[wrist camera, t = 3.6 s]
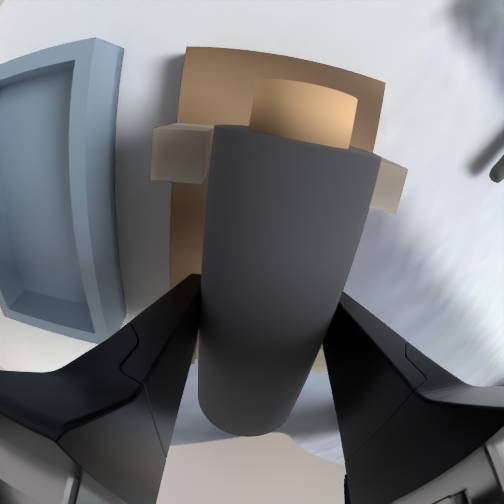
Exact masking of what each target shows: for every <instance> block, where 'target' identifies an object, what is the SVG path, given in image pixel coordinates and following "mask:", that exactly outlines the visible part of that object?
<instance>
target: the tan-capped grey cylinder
mask: <svg viewBox="0 0 504 504" xmlns="http://www.w3.org/2000/svg"><path fill="white" fill-rule="evenodd" d="M357 101H358V99H357V98H355V97H353V96H351V95H349V94H346V93H344V92H341V91H338V90H334V89H331V88H327V87H323V86H319V85H314V84H309V83H304V82H298V81H291V80H281V79H258V80H256V82H255V89H254V95H253V102H252V109H251V116H250V123H249V126H245V125H214V130H213V138H212V147H211V157H210V166H209V176H208V187H207V198H206V210H205V223H204V237H203V252H202V269H201V291H200V316H199V351H198V399H199V404H200V407H201V409H202V412H203V413H204V415H205V416H206V417H207V419H208V420H209V421H210V422H211V423H213V424H214V425H215V426H216V427H218V428H219V429H221V430H223V431H225V432H228V433H231V434H234V435H238V436H246V437H247V436H260V435H264V434H267V433H269V432H272V431H274V430H275V429H277V428H278V427H280V426H281V425H282V424H283V423H284V422H285V421H286V419H287V418H288V417H289V415H290V413H291V411H292V409H293V407H294V405H295V403H296V400H297V398H298V396H299V394H300V392H301V390H302V388H303V386H304V384H305V382H306V379H307V377H308V375H309V373H310V371H311V368H312V366H313V364H314V362H315V359H316V357H317V355H318V352H319V350H320V348H321V345H322V343H323V340H324V338H325V336H326V333H327V331H328V328H329V326H330V323H331V321H332V318H333V316H334V313H335V310H336V308H337V305H338V302H339V300H340V297H341V294H342V292H343V289H344V286H345V283H346V280H347V277H348V275H349V272H350V269H351V266H352V263H353V260H354V257H355V254H356V250H357V247H358V244H359V241H360V238H361V234H362V231H363V228H364V224H365V221H366V218H367V214H368V210H369V207H370V203H371V200H372V196H373V192H374V188H375V184H376V180H377V176H378V172H379V168H380V164H381V159H382V158H381V157H380V156H378V155H376V154H374V153H371V152H368V151H366V150H363V149H360V148H357V147H354V146H350V145H349V144H350V139H351V134H352V129H353V124H354V118H355V113H356V107H357Z"/></svg>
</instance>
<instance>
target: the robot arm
mask: <svg viewBox="0 0 504 504" xmlns="http://www.w3.org/2000/svg"><path fill="white" fill-rule="evenodd" d="M200 291H201V274H196V273H191V274H190V275H188V276H187V277H186V278H185V279H183V280H182V281H181V282H179V283H178V284H177V285H176V286H174V287H173V288H172V289H171V290H169V291H168V292H167V293H165V294H164V295H163V296H162V297H160V298H159V299H158V300H157V301H155V302H154V303H153V304H151V305H150V306H149V307H148V308H146V309H145V310H144V311H143V312H141V313H140V314H139V315H138V316H136V317H135V318H134V319H133V320H131V321H130V323H127V324H126V325H125V326H124V327H122V328H121V329H120V330H119V331H117V332H116V333H115V334H113V335H112V336H111V337H109V338H108V339H106V340H105V341H103V342H102V343H100V344H99V345H97V346H96V347H94V348H93V349H91V350H89V351H88V352H86V353H85V354H83V355H81V356H80V357H78V358H77V359H75V360H74V361H72V362H70V363H69V364H67V365H65V366H64V367H62V368H60V369H58V370H55V371H51V372H44V373H39V372H17V371H2V370H0V504H156V501H157V496H158V492H159V488H160V483H161V479H162V475H163V471H164V466H165V462H166V457H167V453H168V449H169V445H170V441H171V437H172V433H173V429H174V425H175V422H176V418H177V414H178V410H179V406H180V402H181V398H182V395H183V391H184V387H185V383H186V380H187V376H188V372H189V368H190V365H191V361H192V357H193V354H194V350H195V347H196V343H197V338H198V331H199V316H200ZM322 345H323V352H324V357H325V361H326V366H327V371H328V375H329V380H330V385H331V390H332V395H333V400H334V405H335V410H336V415H337V420H338V426H339V431H340V436H341V442H342V448H343V454H344V460H345V461H346V462H345V467H346V473H347V474H346V475H345V479H344V495H345V496H344V497H345V504H504V386H496V387H476V386H472V385H469V384H466V383H464V382H463V381H461V380H460V379H458V378H457V377H455V376H454V375H453V374H451V373H450V372H448V371H447V370H445V369H444V368H442V367H441V366H440V365H438V364H437V363H435V362H434V361H432V360H431V359H430V358H428V357H427V356H425V355H424V354H423V353H421V352H420V351H419V350H418V349H416V348H415V347H414V346H412V345H411V344H410V343H409V342H406V340H405V339H404V338H402V337H401V336H400V335H399V334H397V333H396V332H395V331H394V330H392V329H391V328H390V327H388V326H387V325H386V324H385V323H383V322H382V321H381V320H379V319H378V318H377V317H376V316H374V315H373V314H372V313H370V312H369V311H368V310H367V309H365V308H364V307H363V306H361V305H360V304H359V303H358V302H356V301H355V300H354V299H352V298H351V297H350V296H348V295H347V294H346V293H345V292H342V294H341V297H340V300H339V302H338V305H337V308H336V310H335V313H334V316H333V318H332V321H331V323H330V326H329V328H328V331H327V333H326V336H325V338H324V340H323V343H322Z"/></svg>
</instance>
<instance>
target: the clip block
mask: <svg viewBox="0 0 504 504" xmlns="http://www.w3.org/2000/svg"><path fill="white" fill-rule="evenodd" d="M258 79H281V80H291V81H298V82H304V83H309V84H314V85H319V86H323V87H327V88H331V89H334V90H338V91H341V92H344V93H346V94H349V95H351V96H353V97H355V98H357V99H358V101H357V107H356V113H355V118H354V124H353V129H352V134H351V139H350V144H349V145H350V146H354V147H357V148H360V149H363V150H366V151H368V152H371V153H373V149H374V144H375V139H376V134H377V129H378V124H379V119H380V113H381V108H382V102H383V96H384V89H385V82H382V81H379V80H376V79H373V78H370V77H367V76H364V75H361V74H358V73H354V72H351V71H348V70H344V69H341V68H337V67H333V66H329V65H325V64H321V63H317V62H313V61H308V60H304V59H299V58H294V57H288V56H283V55H277V54H270V53H264V52H256V51H248V50H239V49H228V48H213V47H186V53H185V60H184V66H183V73H182V81H181V88H180V96H179V105H178V114H177V123H174V124H169V125H165V126H160V127H156V128H153V137H152V153H151V175H150V180H157V181H170V182H172V195H171V228H170V281H171V289H172V288H173V287H174V286H176V285H177V284H178V283H179V282H181V281H182V280H183V279H185V278H186V277H187V276H188V275H190V274H191V273H196V274H201V269H202V252H203V237H204V223H205V210H206V198H207V187H208V176H209V166H210V157H211V147H212V138H213V130H214V125H245V126H249V123H250V116H251V109H252V102H253V95H254V89H255V82H256V80H258ZM381 158H382V157H381ZM407 171H408V169H406V168H404V167H402V166H400V165H398V164H395V163H393V162H391V161H389V160H387V159H384V158H382V159H381V164H380V168H379V172H378V176H377V180H376V184H375V188H374V192H373V196H372V200H371V203H370V207H369V209H374V210H379V211H384V212H389V213H394V214H396V211H397V207H398V204H399V200H400V197H401V193H402V190H403V186H404V182H405V179H406V175H407ZM198 351H199V331H198V338H197V343H196V347H195V350H194V354H193V357H192V361H191V364H194V362H195V359H198ZM310 372H328V371H327V366H326V361H325V357H324V352H323V345H321V348H320V350H319V352H318V355H317V357H316V359H315V362H314V364H313V366H312V368H311V371H310Z"/></svg>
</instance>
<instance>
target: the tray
mask: <svg viewBox="0 0 504 504" xmlns="http://www.w3.org/2000/svg"><path fill="white" fill-rule="evenodd" d="M123 54H124V48H122V47H119V46H117V45H114V44H112V43H109V42H107V41H104V40H101V39H99V38H96V37H95V38H90V39H85V40H80V41H75V42H71V43H66V44H62V45H58V46H54V47H51V48H47V49H44V50H40V51H37V52H34V53H31V54H28V55H25V56H22V57H19V58H16V59H13V60H11V61H8V62H5V63H3V64H0V306H1V309H2V311H3V313H4V316H6V317H9V318H11V319H14V320H17V321H20V322H23V323H26V324H29V325H32V326H35V327H38V328H41V329H44V330H48V331H51V332H54V333H58V334H61V335H65V336H69V337H72V338H76V339H80V340H84V341H88V342H92V343H96V344H100V343H102V342H103V341H105V340H106V339H108V338H109V337H111V336H112V335H113V334H115V333H116V332H117V331H119V329H120V327H121V325H122V323H123V321H124V319H125V317H126V309H125V303H124V296H123V289H122V281H121V273H120V265H119V255H118V244H117V231H116V214H115V178H114V166H115V131H116V115H117V103H118V92H119V83H120V75H121V67H122V60H123Z"/></svg>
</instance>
